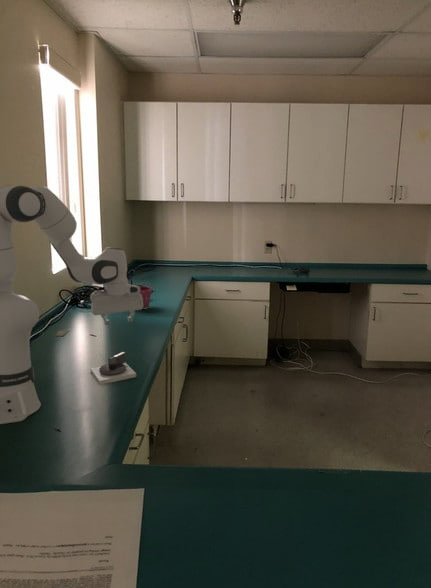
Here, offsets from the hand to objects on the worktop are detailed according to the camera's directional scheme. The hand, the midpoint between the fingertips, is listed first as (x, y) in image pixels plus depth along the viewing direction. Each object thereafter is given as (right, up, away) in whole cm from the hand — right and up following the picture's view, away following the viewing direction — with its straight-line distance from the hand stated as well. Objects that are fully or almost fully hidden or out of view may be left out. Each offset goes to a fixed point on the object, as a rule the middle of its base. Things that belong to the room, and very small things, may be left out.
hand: (118, 323), depth 176 cm
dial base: (-2, -20, -3) cm, 20 cm away
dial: (-1, -18, -3) cm, 18 cm away
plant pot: (-8, +2, +99) cm, 99 cm away
